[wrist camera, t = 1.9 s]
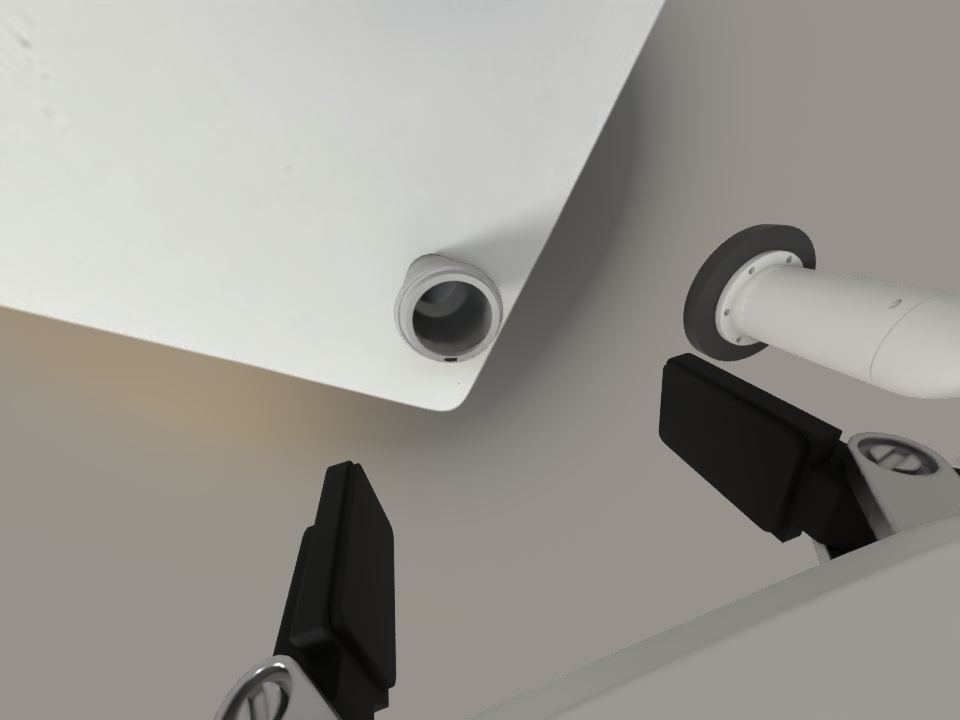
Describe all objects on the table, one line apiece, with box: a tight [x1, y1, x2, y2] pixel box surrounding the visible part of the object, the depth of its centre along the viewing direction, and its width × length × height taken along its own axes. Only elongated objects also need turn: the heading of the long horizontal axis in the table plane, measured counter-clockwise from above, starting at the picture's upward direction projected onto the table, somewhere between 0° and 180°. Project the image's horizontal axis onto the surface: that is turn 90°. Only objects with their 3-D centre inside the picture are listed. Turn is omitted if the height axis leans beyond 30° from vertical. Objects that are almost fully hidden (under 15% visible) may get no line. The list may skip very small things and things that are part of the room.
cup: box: [394, 254, 503, 363], centre depth 26 cm, size 7×7×12 cm
